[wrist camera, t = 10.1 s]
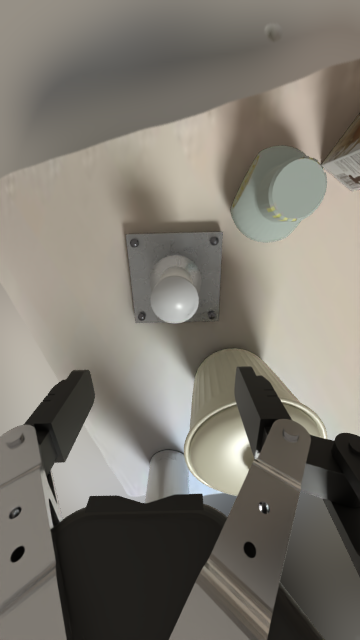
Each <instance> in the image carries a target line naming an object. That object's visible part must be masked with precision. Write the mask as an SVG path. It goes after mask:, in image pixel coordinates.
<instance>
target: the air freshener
mask: <svg viewBox="0 0 360 640" xmlns="http://www.w3.org/2000/svg"><path fill="white" fill-rule="evenodd" d="M326 187H327V177H326V172H325V173H324V171H323V166H322V165H321V164H320V163H319V162H318V161H317V160H316V159H314V158H310V157H309V156H306V155H305V154H304V153H303V152H301V151H300V150H298V149H296V148H293V147H290V146H273V147H270V148H266V149H264V150H262V151H260V152H259V154H258V155H257V157H256V158H255V160H254V161H253V163H252V165H251V167H250V168H249V170H248V172H247V174H246V176H245V178H244V180H243V182H242V184H241V186H240V188H239V190H238V192H237V195H236V197H235V199H234V201H233V204H232V207H231V215H232V218H233V221H234V223H235V225H236V226H237V228H238V229H239V230H240V231H241V233H243V234H244V235H245V236H246V237H248V238H250V239H252V240H255V241H258V242H275V241H279V240H281V239H284V238H286V237H287V236H289V235H290V234H291V233H292V231H293V230H294V229H295V228H296V227H297V226H298V224H299V223H300V222H301V220H302V219H304V218H306V217H308V216H309V215H311V214H312V213H313V212H314V211H315V210H316V209H317V208H318V206H319V205H320V204H321V202H322V200H323V198H324V195H325V192H326Z"/></svg>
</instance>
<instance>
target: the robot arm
mask: <svg viewBox="0 0 360 640" xmlns="http://www.w3.org/2000/svg"><path fill="white" fill-rule="evenodd" d="M234 395H235V401H236V404H237V407H238V410H239V413H240V416H241V419H242V422H243V425H244V429H245V432H246V435H247V438H248V441H249V444H250V447H251V450H252V453H253V456H254V459H255V460H254V461H253V463H252V465H251V467H250V469H249V471H248V473H247V476H246V478H245V480H244V482H243V485H242V487H241V489H240V491H239V493H238V496H237V498H236V500H235V502H234V504H233V507H232V509H231V511H230V513H229V515H228V517H226V516H225V515H224V514H223V513H222V512H220V511H218V510H217V509H215V508H213V507H211V506H209V505H205V504H203V496H202V494H189V473H188V467H187V464H186V462H185V458H184V455H183V454H182V453H180V452H177V451H173V450H164V451H160V452H158V453H156V454H155V455H154V456H153V457H152V458H151V461H150V469H149V476H148V484H147V491H146V499H145V503H140V502H137V501H134V500H130V499H127V498H123V497H120V496H90V497H89V501H88V503H87V506H86V507H85V508H82V509H80V510H78V511H76V512H74V513H72V514H71V515H69V516H67V517H66V518H65V519H63V517H62V515H61V510H60V507H59V502H58V497H57V493H56V488H55V484H54V479H53V475H52V471H51V468H52V466H53V465H54V463H56V462H65V461H66V459H67V457H68V455H69V453H70V451H71V449H72V446H73V444H74V442H75V440H76V438H77V436H78V434H79V432H80V430H81V428H82V426H83V424H84V422H85V420H86V418H87V416H88V414H89V412H90V410H91V407H92V405H93V403H94V398H95V393H94V388H93V383H92V379H91V375H90V371H89V370H73V371H72V372H71V374H70V375H69V376H68V378H67V379H66V380H62V381H61V382H59V383H58V384H57V385H55V386H54V387H53V388H52V389H51V391H50V392H49V393H48V396H46V397H45V398H44V400H43V402H41V403H40V405H39V406H38V407H37V409H36V410H35V411H34V412H33V414H32V415H31V416H30V417H29V419H28V420H27V421H26V422H25V424H24V425H21V426H17V427H15V428H13V429H11V430H9V431H7V432H6V433H4V434H3V435H2V436H1V437H0V640H325V639H324V638H323V636H322V635H321V634H320V633H319V632H318V630H317V629H316V627H315V626H314V625H313V624H312V622H311V621H310V620H309V618H308V617H307V616H306V615H305V613H304V612H303V611H302V609H301V608H300V607H299V606H298V605H297V603H296V602H295V601H294V599H293V598H292V597H291V595H290V594H289V593H288V592H287V590H286V589H285V588H284V586H283V585H282V584H281V583H280V578H281V574H282V569H283V565H284V560H285V556H286V552H287V547H288V542H289V539H290V534H291V530H292V525H293V521H294V517H295V512H296V507H297V503H298V499H299V495H300V491H301V492H304V493H307V494H310V495H313V496H316V497H319V498H322V499H323V501H324V503H325V505H326V507H327V509H328V511H329V513H330V515H331V517H332V520H333V522H334V524H335V526H336V528H337V530H338V532H339V534H340V536H341V538H342V541H343V543H344V545H345V547H346V549H347V551H348V553H349V555H350V557H351V560H352V562H353V564H354V566H355V568H356V570H357V572H358V574H359V576H360V437H359V436H357V435H354V434H350V433H341V434H339V435H337V436H336V438H335V441H332V440H328V439H324V438H320V437H316V436H313V435H310V434H309V433H308V431H307V430H306V429H305V428H304V427H303V426H302V425H301V424H299V423H297V422H295V421H293V420H292V419H291V417H290V415H289V414H288V412H287V410H286V409H285V407H284V405H283V403H282V402H281V400H280V398H279V397H278V395H277V393H276V391H274V388H273V386H272V385H271V383H270V382H269V381H268V380H267V379H266V378H265V377H263V376H262V375H261V376H256V374H255V372H254V370H253V368H252V367H251V366H240V367H237V368H236V376H235V387H234ZM256 459H257V460H256Z"/></svg>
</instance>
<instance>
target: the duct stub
mask: <svg viewBox="0 0 360 640" xmlns="http://www.w3.org/2000/svg"><path fill="white" fill-rule="evenodd" d="M150 300H151V307H152V309H153V311H154V313H155V314H156V315H157V316H158V317H159V318H160V319H161V320H163V321H165V322H168V323H181V322H184V321H186V320H188V319H190V318H191V317H192V316H193V315H194V314H195V312H196V310H197V308H198V304H199V298H198V293H197V290H196V288H195V286H194V285H193V281H192V277H191V275H190V273H189V272H188V271H187V270H186V269H184V268H182V267H178V266H174V267H170V268H168V269H166V270H165V271H164V272H163V274H162V275H161V278H160V280H159V282H158V283H157V284H156V285H155V287H154V289H153V291H152V294H151V299H150Z"/></svg>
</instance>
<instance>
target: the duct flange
mask: <svg viewBox="0 0 360 640" xmlns="http://www.w3.org/2000/svg"><path fill="white" fill-rule="evenodd" d="M222 236H223V232H188V233H149V234H126V241H127V250H128V259H129V268H130V276H131V285H132V294H133V303H134V312H135V321H136V323H149V322H165V321H163V320H161V319H160V318H159V317H158V316H157V315H156V314H155V313H154V311H153V309H152V307H151V300H150V299H151V294H152V291H153V289H154V287H155V285H156V284H157V283H158V282H159V280H160V278H161V275H162V274H163V272H164V271H165V270H166V269H168V268H170V267H174V266H178V267H182V268H184V269H186V270H187V271H188V272H189V273H190V275H191V277H192V281H193V285H194V286H195V288H196V290H197V293H198V298H199V304H198V308H197V310H196V312H195V314H194V315H193V316H192V317H191V318H190V319H188V320H186V321H184V322H198V321H218V318H219V297H220V277H221V256H222Z"/></svg>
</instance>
